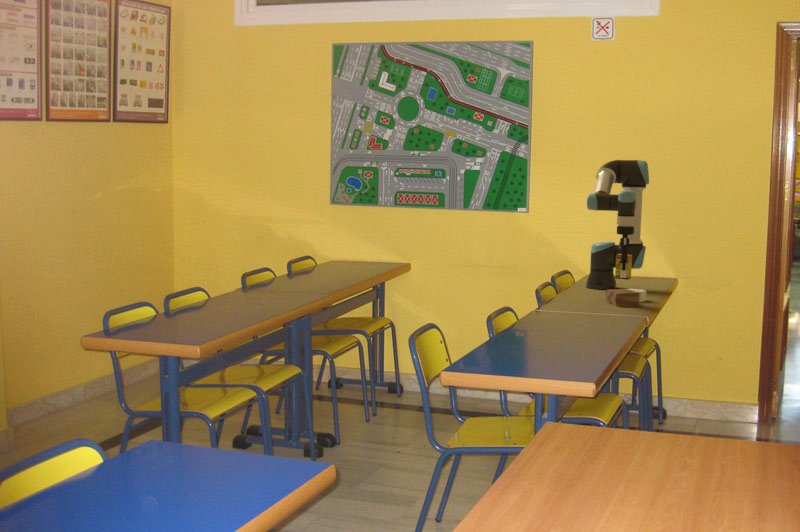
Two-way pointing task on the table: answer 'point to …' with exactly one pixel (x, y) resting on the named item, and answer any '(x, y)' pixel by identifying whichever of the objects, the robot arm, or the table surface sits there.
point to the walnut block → (622, 297)
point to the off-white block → (640, 294)
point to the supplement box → (618, 266)
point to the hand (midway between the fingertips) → (623, 276)
